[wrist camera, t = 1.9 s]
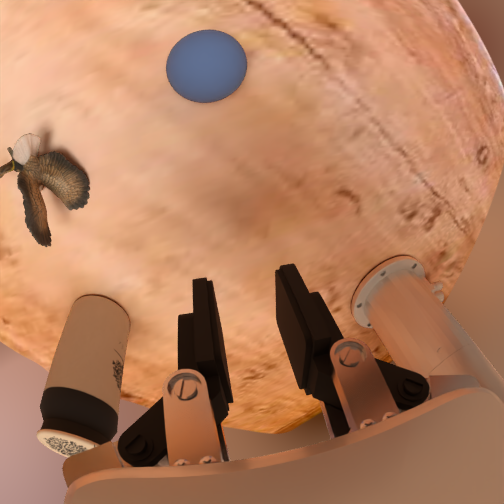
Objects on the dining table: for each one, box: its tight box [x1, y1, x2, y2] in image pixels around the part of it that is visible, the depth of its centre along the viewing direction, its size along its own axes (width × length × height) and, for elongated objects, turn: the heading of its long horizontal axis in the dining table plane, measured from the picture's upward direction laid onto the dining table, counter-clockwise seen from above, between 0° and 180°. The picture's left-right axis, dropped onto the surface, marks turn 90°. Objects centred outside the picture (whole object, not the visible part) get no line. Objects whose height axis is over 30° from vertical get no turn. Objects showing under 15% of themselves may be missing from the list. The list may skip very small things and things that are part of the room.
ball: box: [166, 30, 247, 103], centre depth 18 cm, size 6×6×6 cm
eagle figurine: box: [0, 133, 90, 247], centre depth 20 cm, size 8×7×9 cm
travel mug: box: [37, 296, 130, 458], centre depth 25 cm, size 8×8×18 cm
